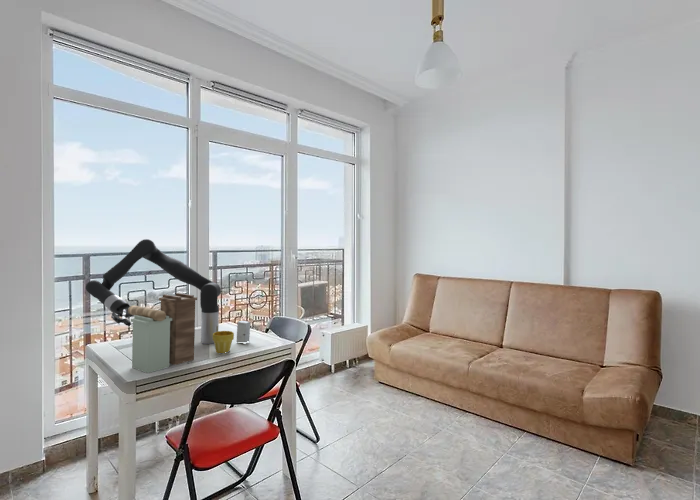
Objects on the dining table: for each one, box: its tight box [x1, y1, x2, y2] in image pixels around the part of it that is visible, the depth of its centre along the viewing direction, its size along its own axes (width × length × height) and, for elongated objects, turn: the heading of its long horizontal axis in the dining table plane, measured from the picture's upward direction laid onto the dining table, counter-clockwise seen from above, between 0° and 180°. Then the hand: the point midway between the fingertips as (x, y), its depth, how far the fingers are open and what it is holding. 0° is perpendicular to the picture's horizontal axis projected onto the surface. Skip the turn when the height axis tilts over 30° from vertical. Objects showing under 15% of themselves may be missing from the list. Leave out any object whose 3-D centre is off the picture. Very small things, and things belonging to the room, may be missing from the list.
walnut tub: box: [158, 292, 198, 366], centre depth 182 cm, size 12×12×31 cm
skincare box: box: [236, 320, 251, 342], centre depth 215 cm, size 6×4×12 cm
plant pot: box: [213, 330, 235, 354], centre depth 198 cm, size 10×10×10 cm
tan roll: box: [128, 304, 166, 321], centre depth 172 cm, size 22×4×4 cm, turn 59°
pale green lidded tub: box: [130, 315, 172, 374], centre depth 171 cm, size 12×12×23 cm
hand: (138, 321), depth 188 cm, fingers open, 8 cm apart
